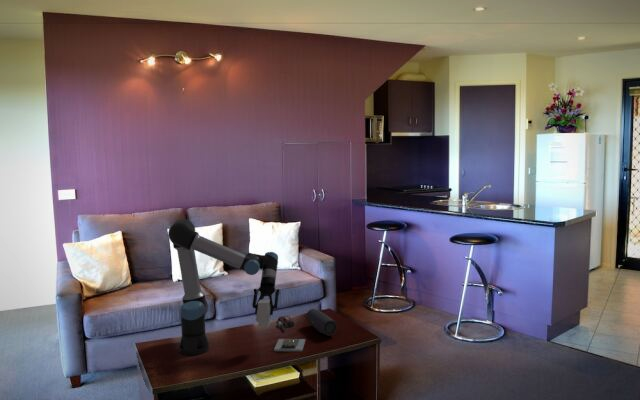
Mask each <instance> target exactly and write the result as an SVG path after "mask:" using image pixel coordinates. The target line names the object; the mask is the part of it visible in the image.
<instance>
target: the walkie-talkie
mask: <svg viewBox="0 0 640 400" xmlns="http://www.w3.org/2000/svg"><path fill="white" fill-rule="evenodd" d="M277 321H278V322H277V326H278V328H281V330H282V331H284V332H286V329H285V328H290V327H295V321H294V320H293V319H292V317H290V316H289V315H282V316H279V317H278V319H277Z"/></svg>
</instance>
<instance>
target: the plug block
mask: <svg viewBox="0 0 640 400" xmlns="http://www.w3.org/2000/svg"><path fill="white" fill-rule="evenodd" d="M257 302H258V301H257ZM269 308H271V306H270V300H269V299H264V298H263V299H260V301H259V302H258V322H257V324H258V325H257V327H259V328H260V327H261V328H263V327H264V328H265V327H266V328H267V327H270V324H271V321H270V322H268V320H267V319H268V312H269Z"/></svg>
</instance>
